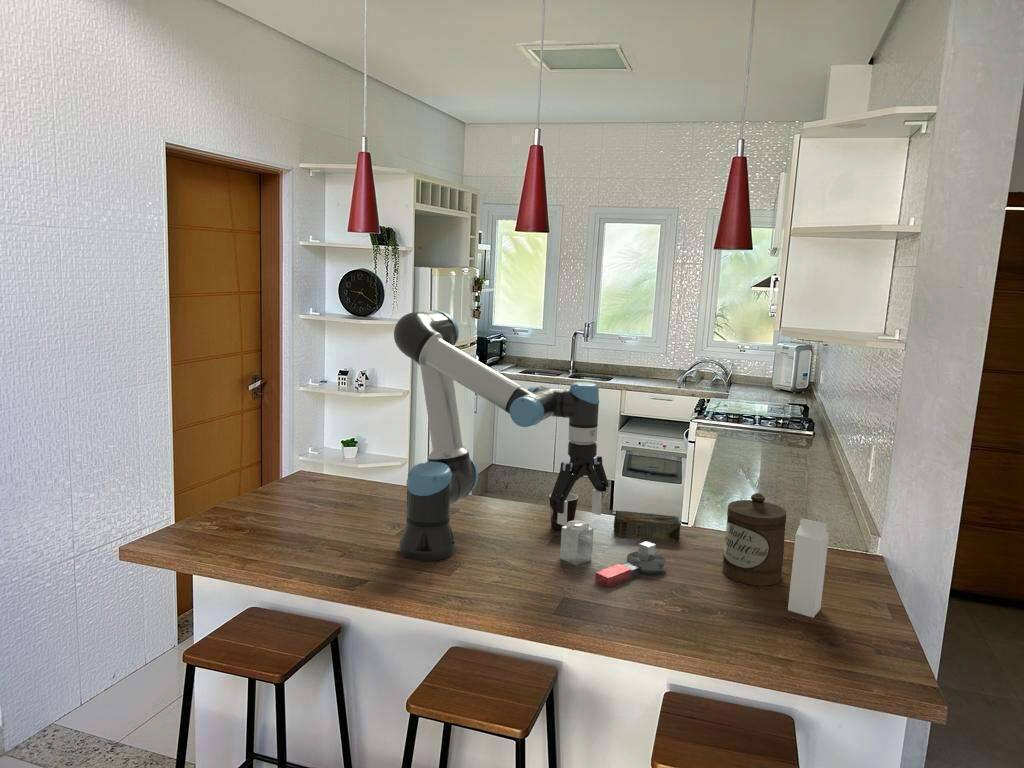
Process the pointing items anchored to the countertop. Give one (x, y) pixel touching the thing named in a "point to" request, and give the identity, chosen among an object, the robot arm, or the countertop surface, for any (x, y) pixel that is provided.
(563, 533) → the grey faceted jar
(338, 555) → the countertop surface
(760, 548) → the wooden container
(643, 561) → the ratchet
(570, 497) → the coffee mug
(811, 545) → the milk
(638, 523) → the beverage carton
